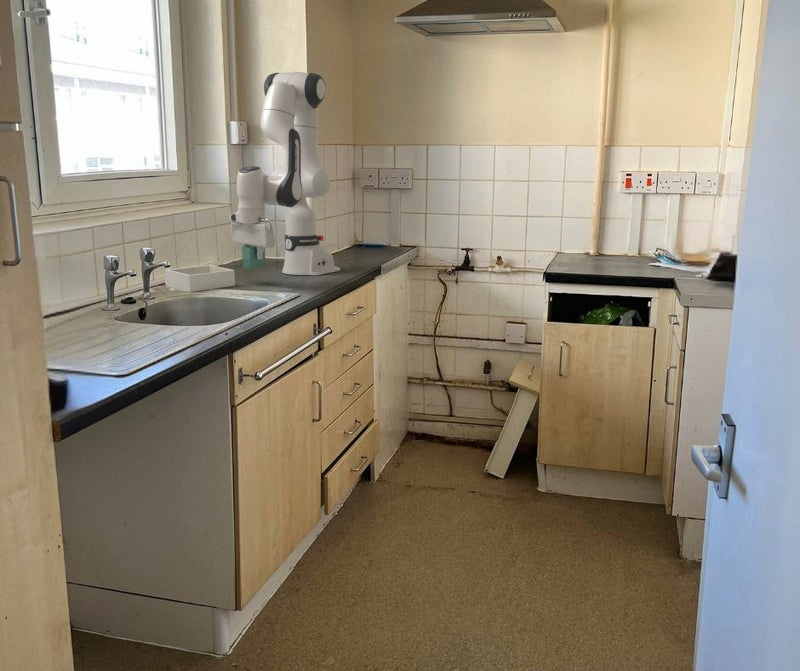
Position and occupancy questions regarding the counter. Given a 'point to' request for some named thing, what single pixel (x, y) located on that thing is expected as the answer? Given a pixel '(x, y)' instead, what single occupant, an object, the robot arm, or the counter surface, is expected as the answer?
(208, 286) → the tote
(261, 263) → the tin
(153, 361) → the counter surface
